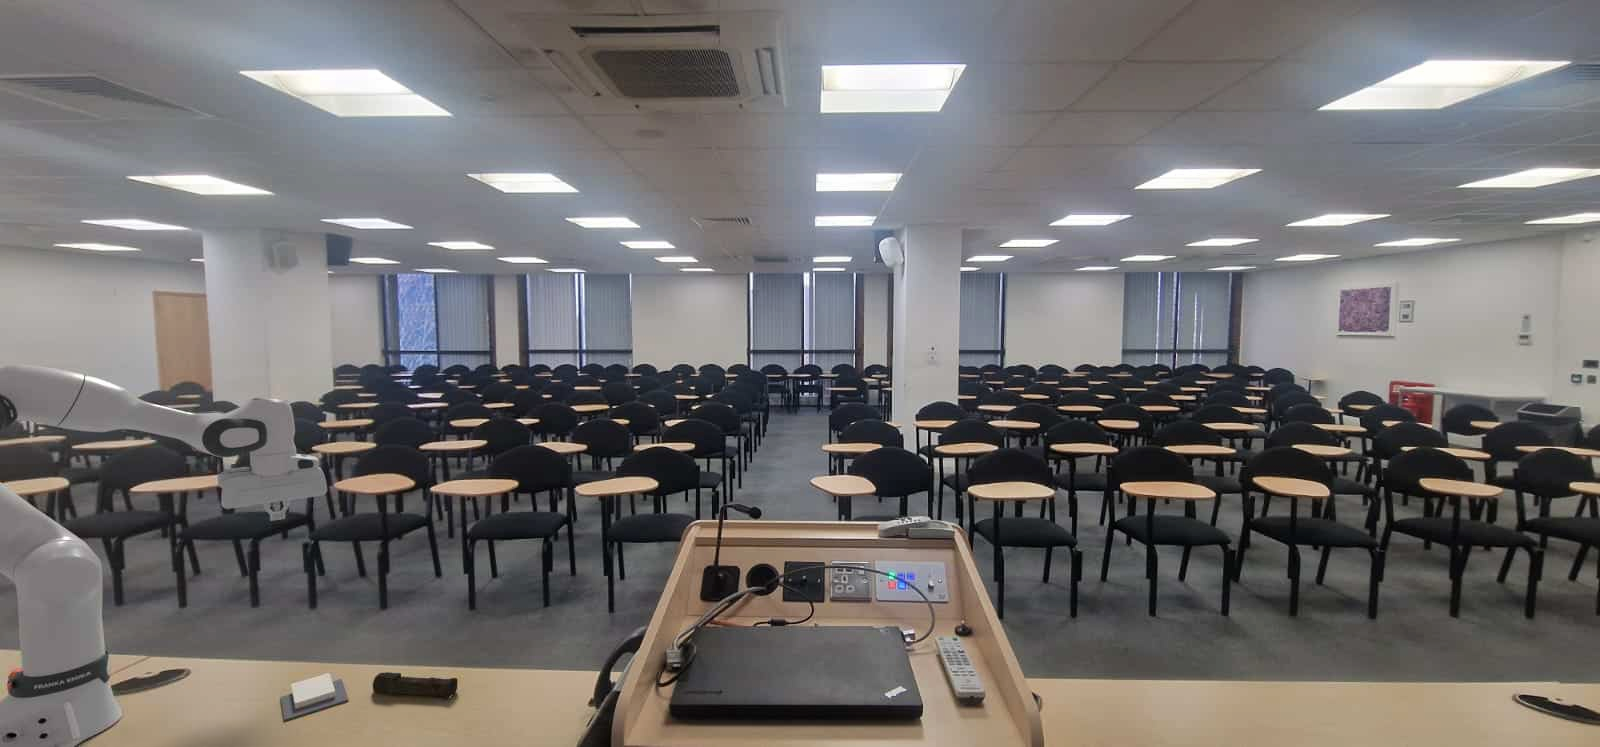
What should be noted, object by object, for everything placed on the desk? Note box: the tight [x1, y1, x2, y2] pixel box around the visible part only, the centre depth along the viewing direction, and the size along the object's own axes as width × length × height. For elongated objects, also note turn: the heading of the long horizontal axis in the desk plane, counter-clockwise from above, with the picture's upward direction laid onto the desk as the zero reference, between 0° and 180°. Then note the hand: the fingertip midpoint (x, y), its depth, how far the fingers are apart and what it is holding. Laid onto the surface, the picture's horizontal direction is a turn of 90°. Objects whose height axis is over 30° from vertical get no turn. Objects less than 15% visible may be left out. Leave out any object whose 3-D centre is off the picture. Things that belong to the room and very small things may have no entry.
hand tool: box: [372, 671, 459, 700], centre depth 145 cm, size 19×4×5 cm, turn 82°
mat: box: [280, 678, 349, 722], centre depth 143 cm, size 11×11×1 cm
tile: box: [290, 672, 335, 709], centre depth 144 cm, size 7×2×10 cm
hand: (277, 519), depth 161 cm, fingers closed
